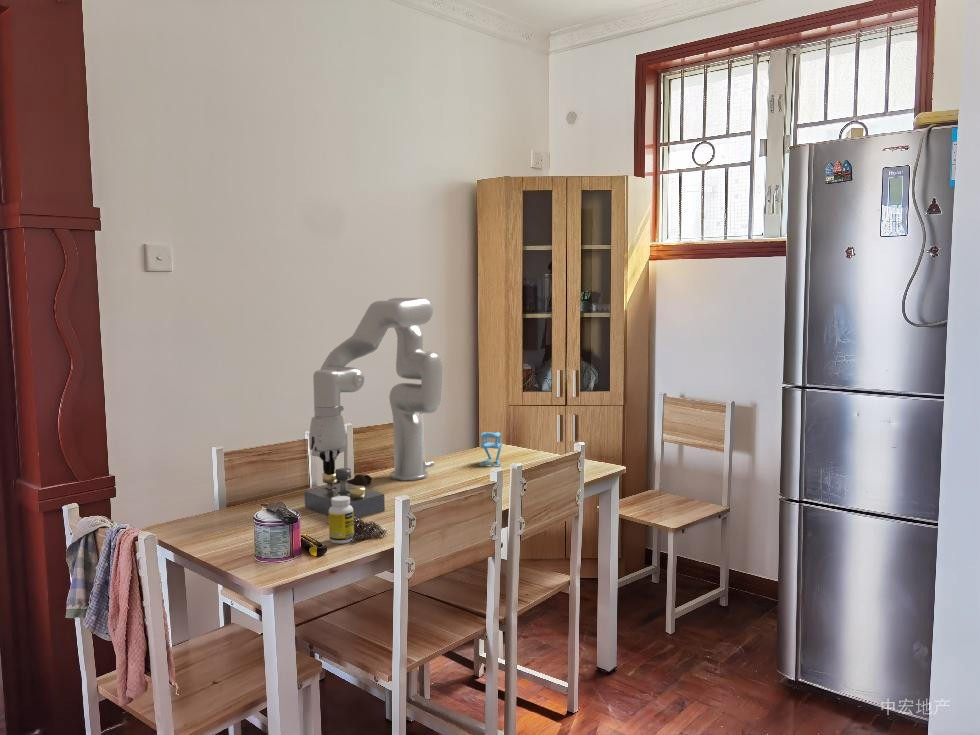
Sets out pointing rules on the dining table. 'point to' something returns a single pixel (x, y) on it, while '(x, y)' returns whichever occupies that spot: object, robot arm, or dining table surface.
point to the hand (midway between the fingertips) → (329, 473)
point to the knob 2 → (357, 492)
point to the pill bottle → (341, 520)
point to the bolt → (359, 480)
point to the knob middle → (343, 478)
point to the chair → (491, 446)
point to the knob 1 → (329, 480)
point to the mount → (361, 507)
